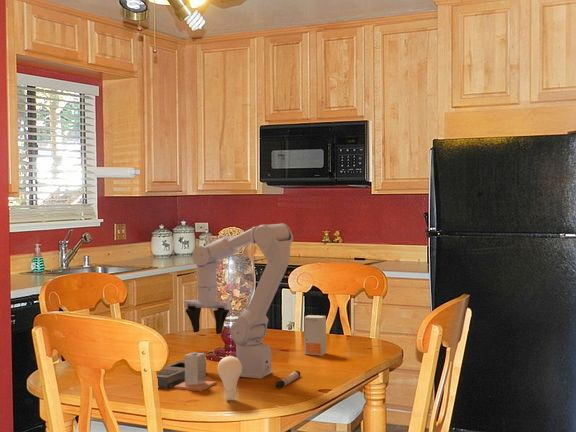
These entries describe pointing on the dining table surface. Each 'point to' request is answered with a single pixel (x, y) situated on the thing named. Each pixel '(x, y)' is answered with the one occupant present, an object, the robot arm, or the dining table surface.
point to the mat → (195, 388)
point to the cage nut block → (195, 369)
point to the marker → (287, 379)
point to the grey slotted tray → (171, 375)
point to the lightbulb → (229, 375)
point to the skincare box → (315, 335)
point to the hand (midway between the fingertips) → (207, 332)
